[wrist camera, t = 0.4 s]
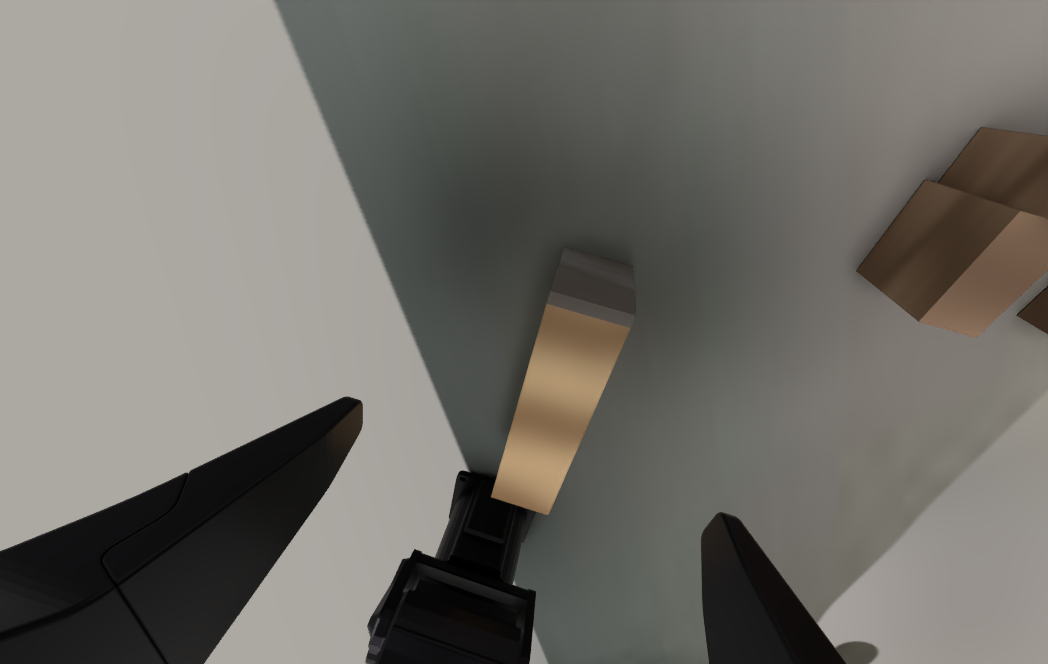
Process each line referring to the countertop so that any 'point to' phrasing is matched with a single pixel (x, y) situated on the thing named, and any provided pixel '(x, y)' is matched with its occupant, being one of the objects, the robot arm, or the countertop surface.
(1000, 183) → the notched wooden block
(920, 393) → the countertop surface
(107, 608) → the robot arm
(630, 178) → the countertop surface
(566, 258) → the oak rail
